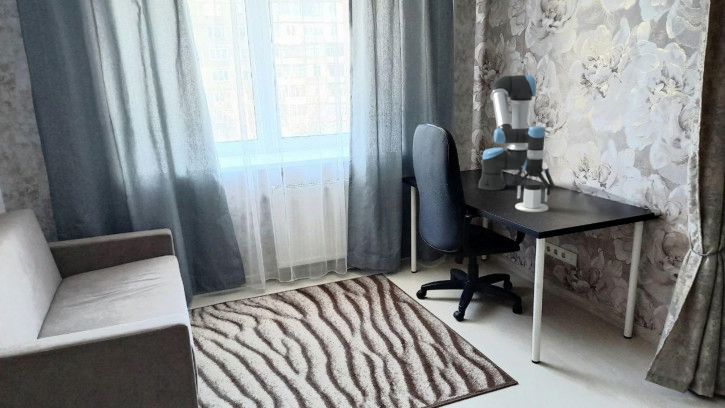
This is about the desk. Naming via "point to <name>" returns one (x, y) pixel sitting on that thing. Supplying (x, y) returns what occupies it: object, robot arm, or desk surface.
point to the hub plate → (522, 208)
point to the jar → (532, 195)
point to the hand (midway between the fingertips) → (532, 199)
